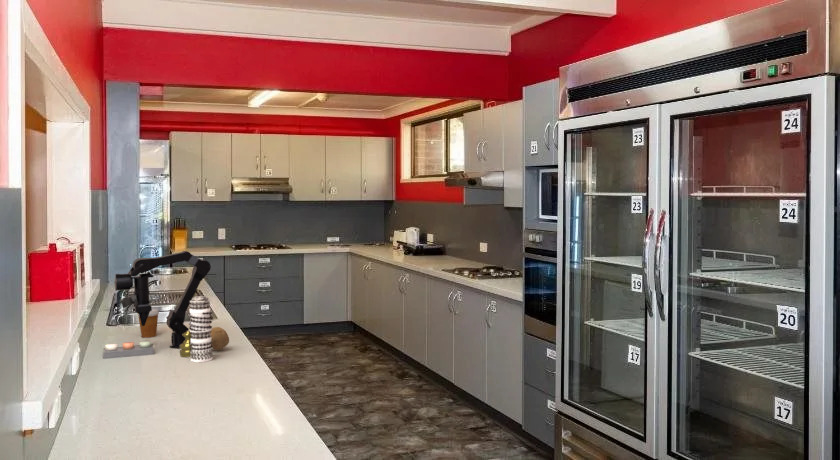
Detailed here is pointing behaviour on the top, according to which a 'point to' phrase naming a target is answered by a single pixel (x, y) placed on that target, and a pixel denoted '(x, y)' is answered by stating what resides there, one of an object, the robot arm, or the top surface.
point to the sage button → (145, 344)
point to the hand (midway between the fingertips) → (143, 325)
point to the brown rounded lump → (219, 338)
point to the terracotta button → (128, 345)
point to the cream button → (111, 346)
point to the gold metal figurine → (186, 345)
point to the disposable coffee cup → (149, 324)
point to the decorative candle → (200, 329)
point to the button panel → (128, 352)
